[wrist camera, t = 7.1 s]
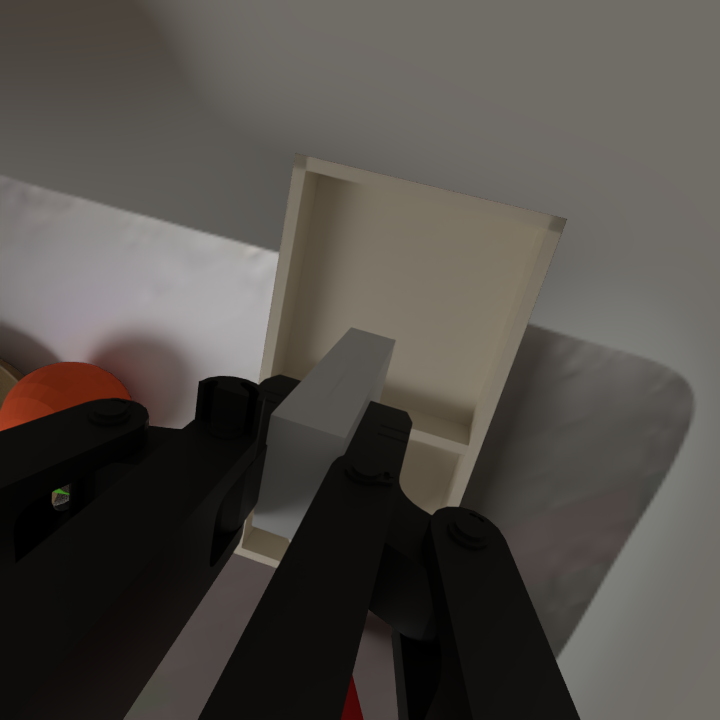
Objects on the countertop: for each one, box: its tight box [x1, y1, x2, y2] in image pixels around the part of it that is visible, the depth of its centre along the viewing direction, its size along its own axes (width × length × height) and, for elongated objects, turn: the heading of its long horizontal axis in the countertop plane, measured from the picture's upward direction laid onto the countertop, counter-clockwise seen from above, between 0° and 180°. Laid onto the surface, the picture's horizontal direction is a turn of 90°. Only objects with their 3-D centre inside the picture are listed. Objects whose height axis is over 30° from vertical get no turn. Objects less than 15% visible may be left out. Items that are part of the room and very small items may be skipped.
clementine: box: [0, 362, 132, 495], centre depth 28 cm, size 8×7×7 cm
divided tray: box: [233, 153, 567, 568], centre depth 26 cm, size 12×24×3 cm, turn 167°
